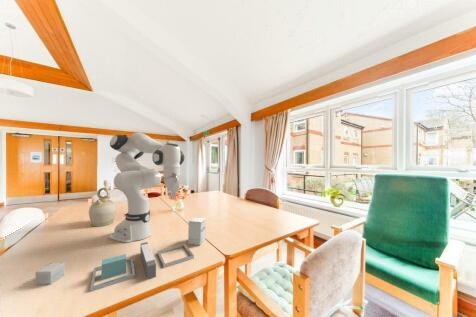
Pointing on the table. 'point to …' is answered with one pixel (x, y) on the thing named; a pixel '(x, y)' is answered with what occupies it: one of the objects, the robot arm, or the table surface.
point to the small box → (49, 273)
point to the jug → (102, 210)
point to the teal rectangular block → (113, 267)
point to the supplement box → (196, 231)
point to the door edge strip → (148, 260)
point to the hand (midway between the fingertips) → (171, 197)
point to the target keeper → (94, 287)
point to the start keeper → (175, 260)
